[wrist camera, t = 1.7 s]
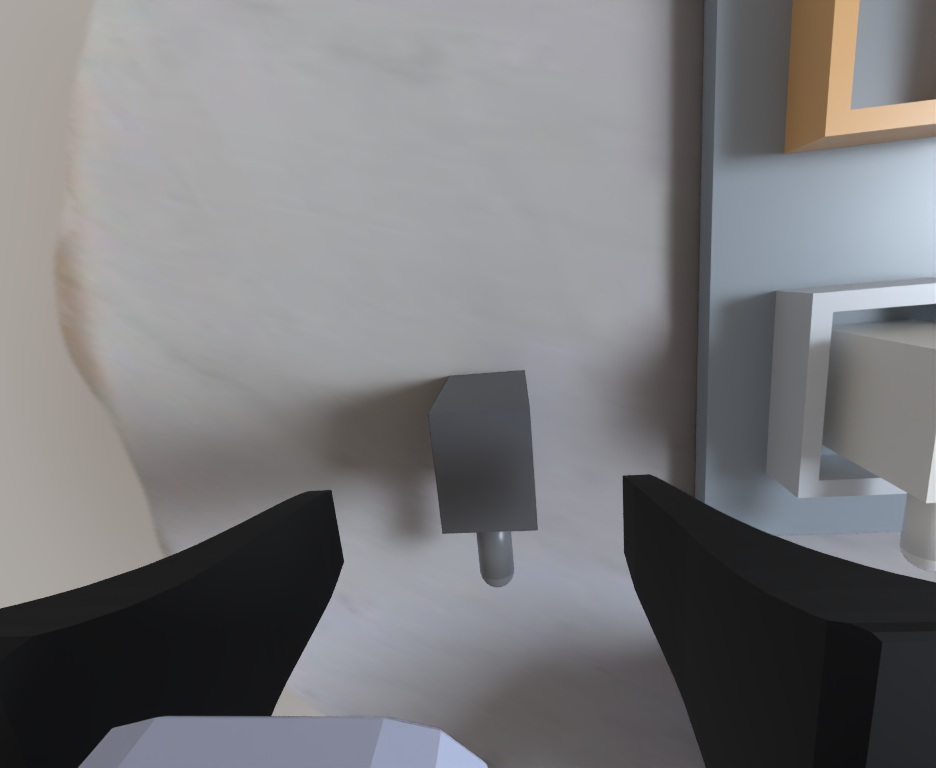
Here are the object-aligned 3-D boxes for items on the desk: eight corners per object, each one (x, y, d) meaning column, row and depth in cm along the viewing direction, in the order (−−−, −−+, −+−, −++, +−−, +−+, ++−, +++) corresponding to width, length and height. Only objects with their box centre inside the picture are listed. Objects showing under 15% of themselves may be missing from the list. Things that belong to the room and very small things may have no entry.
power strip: (962, 514, 18) (1175, 630, 12) (694, 524, 19) (774, 635, 13) (1095, -287, 13) (1593, -761, 7) (708, -210, 14) (854, -562, 8)
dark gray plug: (535, 529, 20) (543, 612, 15) (466, 531, 20) (452, 614, 15) (524, 370, 18) (529, 407, 14) (449, 375, 19) (427, 413, 14)
